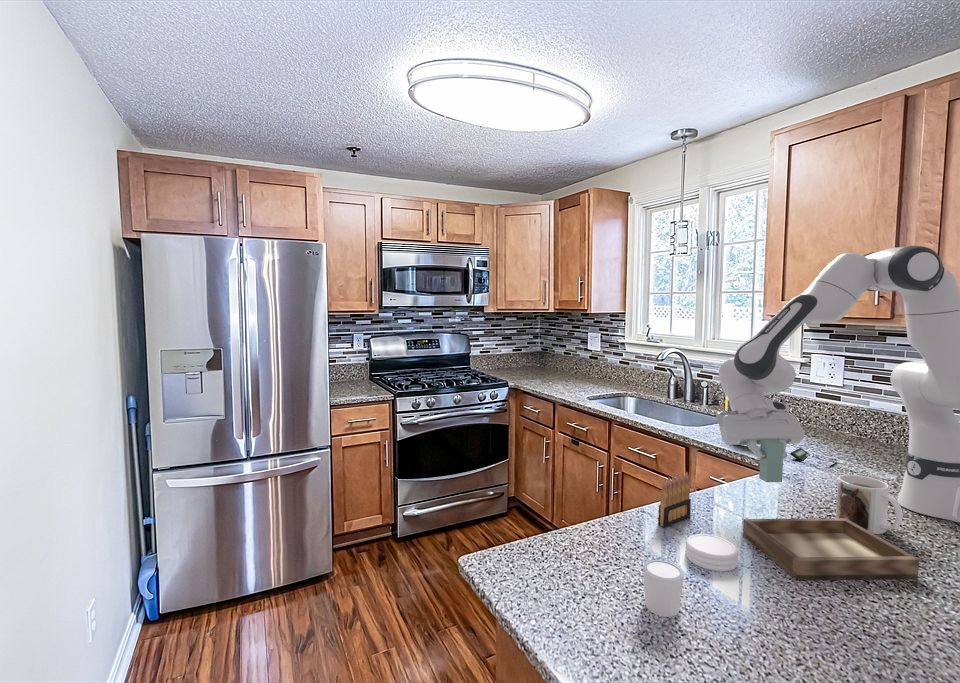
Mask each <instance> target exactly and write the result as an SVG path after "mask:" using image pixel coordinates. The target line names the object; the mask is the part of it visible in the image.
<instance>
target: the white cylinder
mask: <svg viewBox="0 0 960 683" xmlns="http://www.w3.org/2000/svg"><path fill="white" fill-rule="evenodd" d="M642 573H643V576H642V577H643V589H644V590H643V591H644V604H645V607H646V609H647V610H649V612H650V613H652V614H654V615H656V616H659V617H662V618H663V617H664V618H673V617H676V616H677V615H678V614H679V612H680V604H681V598H682V590H683V584H684V578H685V572H684V571H683V569H682V568H680V567H679V566H678V565H677V564H675V563H672V562H671V561H665V560H661V559H651V560H647V561H646V562H644V563H643V566H642Z"/></svg>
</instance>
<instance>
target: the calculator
mask: <svg viewBox="0 0 960 683" xmlns="http://www.w3.org/2000/svg"><path fill="white" fill-rule="evenodd" d="M789 455H790V456H791V457H793V458H794V459H796V460H797V461H799V460H800V461H804V460H805V459H806V458H807V457H808V456H810V455H811V454H810V453H809V452H807V451H806V450H805V449H803V448H802V447H799V448H796V449H795V450H793V451H791V452H790V453H789ZM800 461H799V462H800Z"/></svg>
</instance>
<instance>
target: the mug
mask: <svg viewBox="0 0 960 683" xmlns="http://www.w3.org/2000/svg"><path fill="white" fill-rule="evenodd" d="M836 489H837V491H836V503H835V504H836V508H835V518H846V519H848V520H850V521H852V522H853V523H855V524H857V525H859V526H860V527H862V528H864V529H866V530H868V531H869V532H871V533H873V534H875V535H881V534H884V533H886V532H887V531H890V530H895V529H897V528H898V527H900V525H901V524H902V522H903V517H904V514H903V513H904V512H903V509H902V506H901V505H900V504H899V502H898V501H897V498H895V496H893V495H891V494H889V492H890V486H889V484H888V483H886V482H885V481H882V480H879V479H877V478H874V477H870V476H865V475H858V474H841V475H839V476H837V488H836ZM889 502H890V503H891V505H892V506H893V508H894V511H895V519H894V522H893V523H892V524H891V525H887V524H888V509H889Z"/></svg>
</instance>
